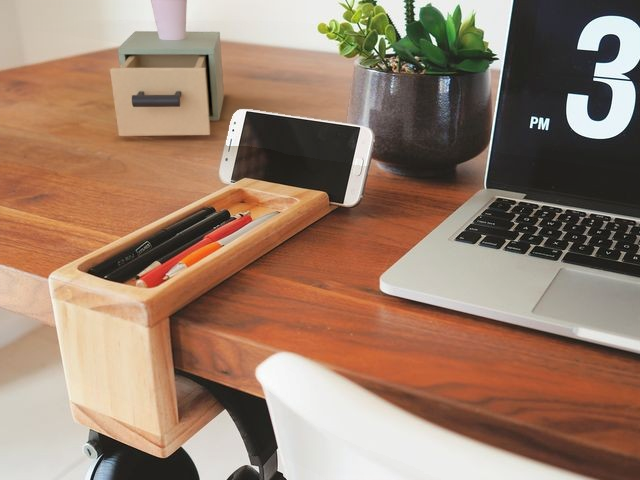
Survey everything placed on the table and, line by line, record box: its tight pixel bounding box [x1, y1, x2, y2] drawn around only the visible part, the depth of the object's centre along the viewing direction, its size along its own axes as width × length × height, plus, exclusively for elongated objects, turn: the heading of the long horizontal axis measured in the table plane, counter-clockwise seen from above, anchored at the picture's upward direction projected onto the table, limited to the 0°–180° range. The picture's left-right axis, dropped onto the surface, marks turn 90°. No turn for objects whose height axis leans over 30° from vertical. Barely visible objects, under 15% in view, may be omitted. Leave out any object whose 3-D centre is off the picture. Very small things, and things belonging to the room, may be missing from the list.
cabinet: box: [117, 30, 225, 122], centre depth 105 cm, size 15×13×10 cm
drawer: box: [109, 54, 211, 137], centre depth 95 cm, size 18×11×8 cm, turn 7°
